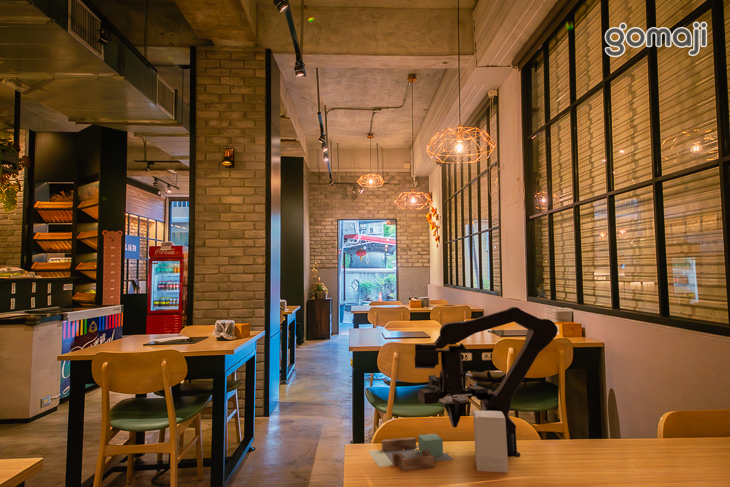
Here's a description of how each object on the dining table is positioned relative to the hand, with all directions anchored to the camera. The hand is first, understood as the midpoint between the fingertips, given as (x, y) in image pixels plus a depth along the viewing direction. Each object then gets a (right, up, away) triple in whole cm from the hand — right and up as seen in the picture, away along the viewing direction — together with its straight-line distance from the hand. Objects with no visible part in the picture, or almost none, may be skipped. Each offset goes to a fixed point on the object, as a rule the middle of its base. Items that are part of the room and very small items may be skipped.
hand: (454, 427), depth 117 cm
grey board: (-13, -6, -4) cm, 15 cm away
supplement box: (+7, -5, -12) cm, 15 cm away
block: (-7, -6, -2) cm, 9 cm away
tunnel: (-14, -6, -6) cm, 16 cm away
